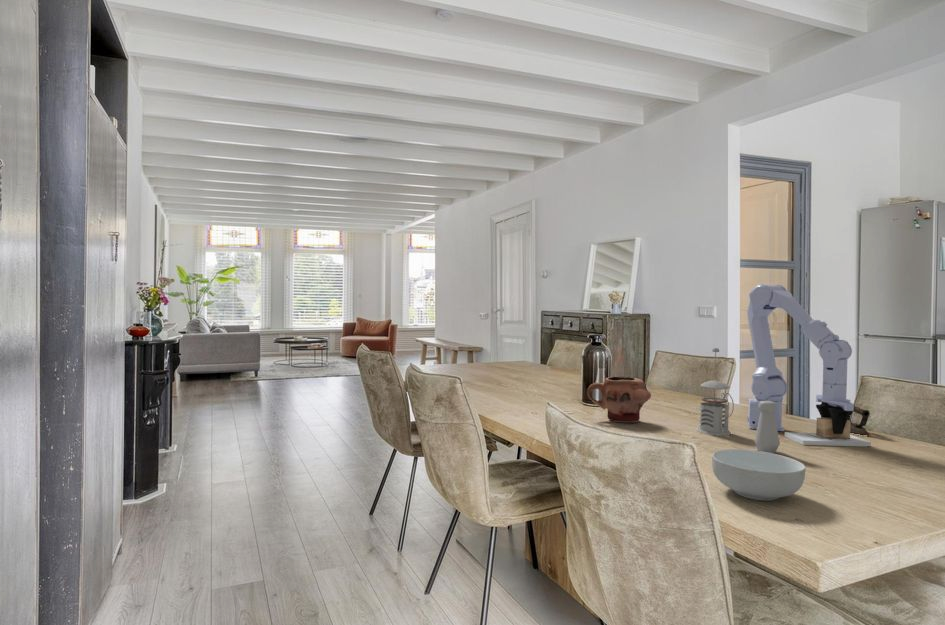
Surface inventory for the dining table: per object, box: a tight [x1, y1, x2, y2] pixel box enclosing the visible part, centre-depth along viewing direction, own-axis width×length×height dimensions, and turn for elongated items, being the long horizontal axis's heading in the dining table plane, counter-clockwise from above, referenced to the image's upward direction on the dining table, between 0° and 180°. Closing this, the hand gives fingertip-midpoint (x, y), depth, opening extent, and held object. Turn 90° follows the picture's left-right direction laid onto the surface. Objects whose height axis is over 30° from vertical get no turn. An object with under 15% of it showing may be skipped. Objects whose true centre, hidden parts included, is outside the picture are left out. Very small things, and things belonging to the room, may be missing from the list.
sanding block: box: [815, 417, 852, 439], centre depth 163 cm, size 7×4×5 cm, turn 88°
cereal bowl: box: [711, 448, 806, 501], centre depth 117 cm, size 17×17×7 cm
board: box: [784, 431, 872, 447], centre depth 163 cm, size 18×10×1 cm, turn 88°
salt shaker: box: [754, 401, 781, 454], centre depth 151 cm, size 6×6×13 cm
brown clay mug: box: [586, 376, 652, 423], centre depth 188 cm, size 20×12×14 cm, turn 87°
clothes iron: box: [848, 405, 871, 436], centre depth 175 cm, size 7×11×10 cm, turn 176°
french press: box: [696, 347, 735, 437], centre depth 172 cm, size 10×12×25 cm
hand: (833, 431), depth 163 cm, fingers closed on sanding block, 4 cm apart
